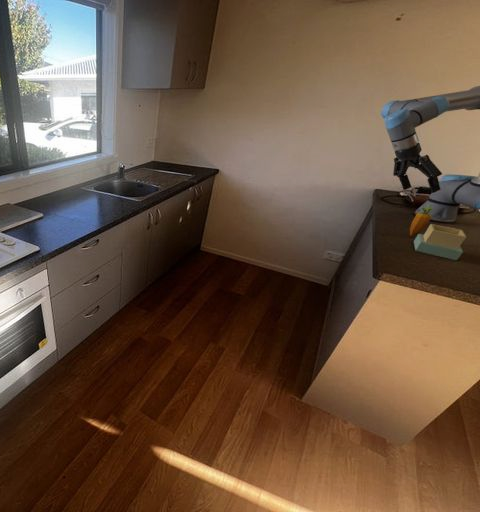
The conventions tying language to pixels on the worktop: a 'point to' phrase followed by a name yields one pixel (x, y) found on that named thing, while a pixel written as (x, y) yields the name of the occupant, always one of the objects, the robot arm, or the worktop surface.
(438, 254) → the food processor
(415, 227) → the carrot
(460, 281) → the worktop surface
